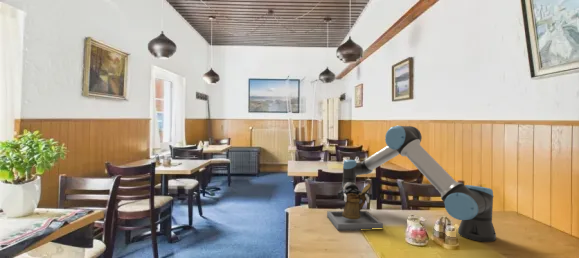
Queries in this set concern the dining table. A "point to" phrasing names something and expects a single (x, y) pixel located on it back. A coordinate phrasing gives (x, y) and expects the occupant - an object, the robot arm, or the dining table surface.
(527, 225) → the dining table surface
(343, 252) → the dining table surface
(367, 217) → the grey tray
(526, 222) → the dining table surface
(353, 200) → the turkish coffee pot
